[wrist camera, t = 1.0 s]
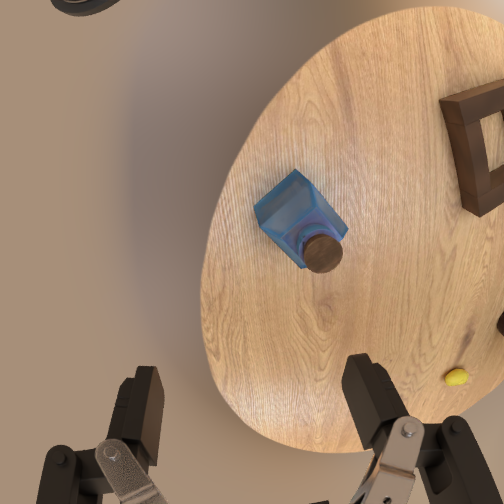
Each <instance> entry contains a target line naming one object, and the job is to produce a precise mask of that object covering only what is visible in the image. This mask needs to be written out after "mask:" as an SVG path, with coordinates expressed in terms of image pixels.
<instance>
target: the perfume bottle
mask: <svg viewBox="0 0 504 504" xmlns="http://www.w3.org/2000/svg"><path fill="white" fill-rule="evenodd" d="M253 207H254V210H255V214H256V217H257V220H258V224H259V227H260V228H261V229H262V230H263V231H264V232H265V233H266V234H267V235H268V236H269V237H270V238H271V239H272V240H273V241H274V242H275V243H276V244H277V245H278V246H279V247H280V248H281V249H282V250H283V251H284V252H285V253H286V254H287V255H288V256H289V257H290V258H291V259H292V260H293V261H294V262H295V263H296V264H297V265H298V266H299V267H300V268H301V269H303V268H308V269H309V270H311V271H312V272H315V273H327V272H330V271H331V270H333V269H335V268H336V267H337V266H338V264H339V263H340V261H341V259H342V255H343V250H342V246H341V244H340V243H339V242H340V241H341V240H342V239H343V238H344V236H345V234H346V233H347V231H348V229H349V228H348V227H347V226H346V224H345V223H344V222H343V221H342V219H341V218H340V217H339V216H338V214H337V213H336V212H335V211H334V210H333V208H332V207H331V206H330V205H329V203H328V202H327V201H326V200H325V199H324V197H323V196H322V195H321V194H320V193H319V191H318V190H317V189H316V188H315V187H314V185H313V184H312V183H311V182H310V181H309V180H308V179H307V178H305V177H304V176H303V175H302V174H301V173H300V172H299V171H297V170H296V169H295V170H294V171H293V172H292V173H290V174H289V175H288V176H287V177H286V178H285V179H284V180H283V181H281V182H280V183H279V184H278V185H277V186H276V187H275V188H274V189H272V190H271V191H270V192H269V193H268V194H267V195H266V196H265V197H263V198H262V199H261V200H260V201H259V202H258V203H257V204H256V205H255V206H253Z"/></svg>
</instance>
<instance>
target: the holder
mask: <svg viewBox="0 0 504 504" xmlns="http://www.w3.org/2000/svg"><path fill="white" fill-rule="evenodd" d="M439 102H440V105H441V109H442V112H443V116H444V119H445V123H446V126H447V130H448V134H449V138H450V142H451V146H452V151H453V155H454V160H455V165H456V170H457V175H458V181H459V187H460V193H461V200H462V207H463V208H464V209H466V210H467V211H469V212H471V213H473V214H474V215H476V216H478V217H479V218H480V217H482V216H483V215H485V214H486V213H488V212H490V211H491V210H493V209H494V208H496V207H497V206H499V205H500V204H502V203H503V202H504V165H502V166H501V167H499V168H497V169H495V170H494V171H492V172H490V173H489V168H488V161H487V155H486V149H485V144H484V138H483V133H482V129H481V124H480V120H479V119H482V118H484V117H486V116H489V115H491V114H494V113H496V112H499V111H501V110H502V115H503V119H504V79H501V80H498V81H495V82H491V83H488V84H485V85H482V86H479V87H475V88H472V89H469V90H466V91H463V92H460V93H457V94H454V95H451V96H449V97H446V98H443V99H440V100H439Z"/></svg>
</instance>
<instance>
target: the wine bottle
mask: <svg viewBox="0 0 504 504" xmlns="http://www.w3.org/2000/svg"><path fill="white" fill-rule="evenodd" d="M497 328H498V330H499V332H500V333H501V334H502V335H503V336H504V313H503V314H502V316H501V318H500V320H499V322H498V326H497Z"/></svg>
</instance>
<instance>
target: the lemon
mask: <svg viewBox="0 0 504 504" xmlns="http://www.w3.org/2000/svg"><path fill="white" fill-rule="evenodd" d="M468 376H469V375H468V372H467V371H465V370H463V369H454V370H452V371H451V372H450V373H449V374H447V375H446V377H445V383H446V384H447V385H448V386H456V385H461V384H464V383H466V381H467V380H468Z"/></svg>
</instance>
